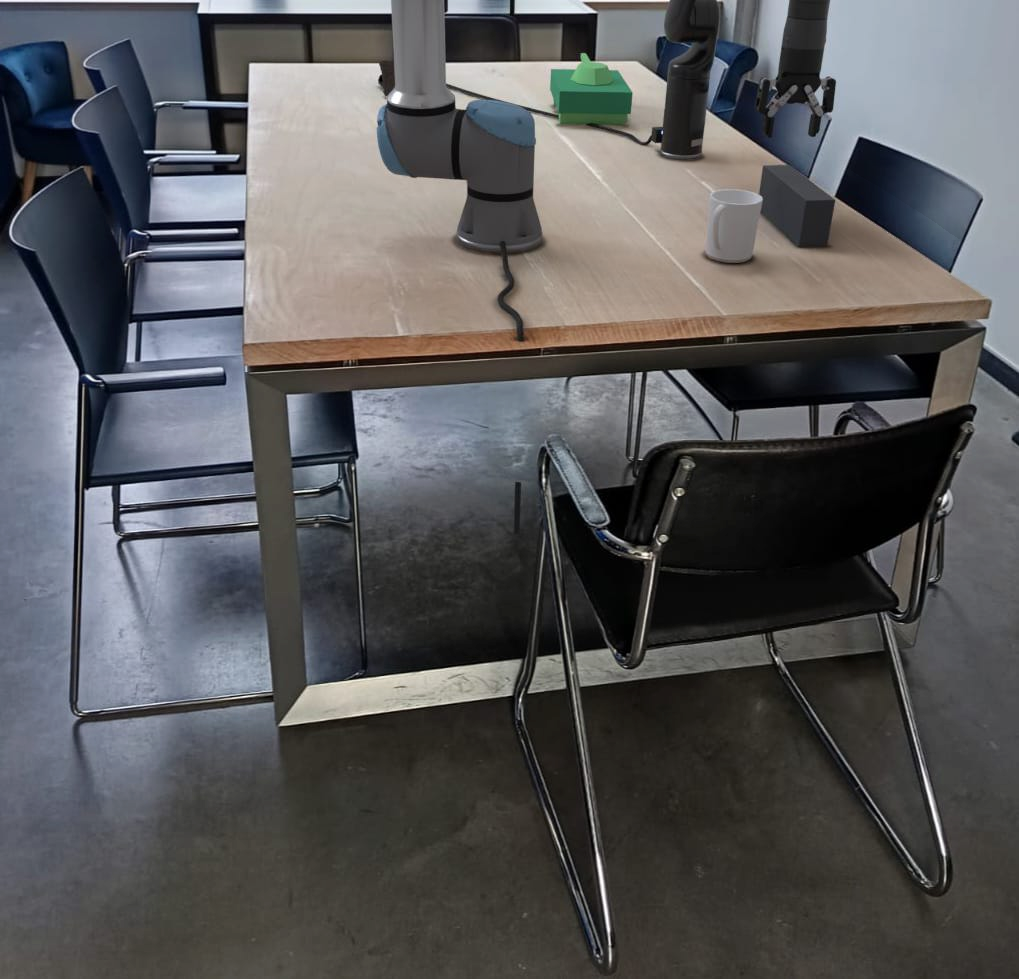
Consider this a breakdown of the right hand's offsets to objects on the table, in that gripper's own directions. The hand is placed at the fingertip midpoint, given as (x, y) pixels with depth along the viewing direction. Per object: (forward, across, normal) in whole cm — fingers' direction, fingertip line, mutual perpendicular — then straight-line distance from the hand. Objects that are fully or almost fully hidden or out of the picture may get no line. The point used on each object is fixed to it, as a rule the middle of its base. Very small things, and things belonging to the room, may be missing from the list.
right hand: (789, 136), depth 204 cm
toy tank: (+14, +20, -88) cm, 91 cm away
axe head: (+14, +66, -115) cm, 133 cm away
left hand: (-16, +54, -38) cm, 68 cm away
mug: (+15, +18, +23) cm, 33 cm away
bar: (+15, 0, +7) cm, 17 cm away
